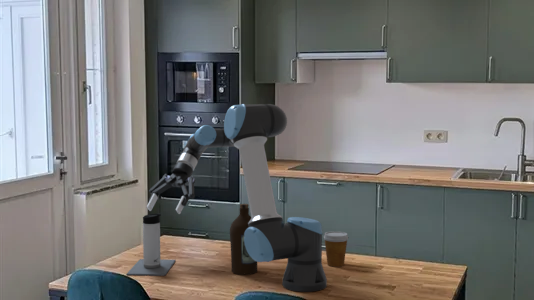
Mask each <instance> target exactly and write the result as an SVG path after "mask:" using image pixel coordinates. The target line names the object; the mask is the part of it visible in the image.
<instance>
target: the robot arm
mask: <svg viewBox="0 0 534 300" xmlns="http://www.w3.org/2000/svg"><path fill="white" fill-rule="evenodd" d="M287 126H288V118H287V114H286V112H285V111H284V110H283V109H282V108H281V107H280V106H278V105H275V104H271V103H265V104H264V103H259V104H258V103H257V104H252V103H250V104H249V103H247V104H245V103H241V104H234V105H231V106H230V107H229V108H228V109H227V111H226V113H225V117H224V123H223V128H214V126H211V125H209V124H204V125H202V126H200V127H199V128H198V129H197V130H196V131H195V133H192V134H191V135H190V137H188V139H187V141H186V144H185V146H184V148H183V150H182V152H181V153H180V156H179V157H178V159H177V161H176V162H175V163H176V164H174V167H173V170H172V173H171V175H168V174H167V173H164V175H162V178H160V179H159V180H158V181H157V182H156V183H155V184H154V185H153V186H152V187H150V189H149V190H148V193H149V194H151V195H150V197H149V198H148V203H147V205H146V208H147V210H148V211H149V212H152V210H153V208H154V207H155V205H156V202H157V201H158V199H159V196H160V195H161V194H163V193H164V192H166V191H167V190H169V189H171V188H181V190H182V192H183V195H182V196H181V197H180V198H179V199H180V200H179V202H178V204H177V205H176V208H175V211H176V213H177V214H178V215H180V214H181V213H182V211H183V209H184V207H186V206H187V204H188V201H189V200H190V199H191V200H194V199H195V182H196V179H195V177H194V176H193V173H194V171H195V169H196V167H197V165H198V162H199V160H200V158H201V157H202V155H203V154H204V152H205V151H207V149H211V148H213V149H214V148H228V147H229V148H230V147H232V148H233V147H235V148H236V149H237V150H239V155H240V161H241V167H242V174H243V178H244V183H245V189H246V194H247V201H248V205H249V206H248V207H249V212H250V216H251V220H250V221H249V223H248V226H249V228H247V229H246V231H245V233H244V236H245V237H244V243H245V247H246V250H247V252H248V254H249V255H250V257H252V259H253V260H255V261H257V263H264V262H267V263H269V262H272V261H279V260H285V259H287V263H286V267H285V270H284V273H283V276H282V278H281V279H282V282H281V283H282V284H281V285H282V287H283V288H285V289H286V290H289V291H294V292H303V293H304V292H305V293H306V292H307V293H308V292H309V293H310V292H316V291H322V290H324V289H326V288H327V285H328V284H327V283H328V281H327V280H328V279H327V275H326V271H325V270H324V267H323V264H322V262H323V261H322V256H323V250H322V249H323V242H322V241H323V229H322V228H323V227H322V223H321V222H320V221H319V220H317V219H314V218H307V217H301V216H290V217H287V220H286V222H287V223H286V222H285V223H284V219H283V216H282V215H280V214H279V213H278V211H277V205H276V202H275V195H274V191H273V186H272V181H271V175H270V170H269V166H268V160H267V153H266V150H265V144H266V142H267V141H268V138H273V137H277V136H279V135H281V134H282V133H284V131H285V130H286V128H287ZM187 183H188V188H187V185H186V184H187Z"/></svg>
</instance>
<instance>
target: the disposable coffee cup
mask: <svg viewBox="0 0 534 300" xmlns="http://www.w3.org/2000/svg"><path fill="white" fill-rule="evenodd" d="M322 239H323V240H324V246H325V256H326V264H327V266H329V267H334V268H339V267H341V268H342V267H344V266H345V260H346V254H347V253H346V251H347V245H348V239H349V236H348V233H347V232H344V231H326V232H324V235H323V236H322Z"/></svg>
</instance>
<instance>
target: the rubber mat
mask: <svg viewBox="0 0 534 300" xmlns="http://www.w3.org/2000/svg"><path fill="white" fill-rule="evenodd" d="M160 259H161V258H160ZM160 262H161V266H160V267H158V268H145V267H144V258H140V259H139V260H138V261H137V262H136V263H135V264H134V265H133V266H132V267H131V268H130V269H129V271H127V273H126V276H144V277H145V275H146V276H147V275H149V276H153V277H158V276H159V277H161V276H162V277H164V276H167V273H168V272H169V271H170V270H171V268H172V267H173V265H174V264H175V263H176V259H164V258H163V259H161V261H160ZM149 276H148V277H149Z"/></svg>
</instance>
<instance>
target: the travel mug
mask: <svg viewBox="0 0 534 300" xmlns="http://www.w3.org/2000/svg"><path fill="white" fill-rule="evenodd" d="M160 217H161V212H160V213H151V214H150V213H149V214H145V215H143V217H142V241H143V242H142V243H143V244H142V245H143V247H142V249H143V250H142V252H143V253H142V254H143V259H144V267H145V268H158V267H160V266H161V262H160V261H161V219H160Z"/></svg>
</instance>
